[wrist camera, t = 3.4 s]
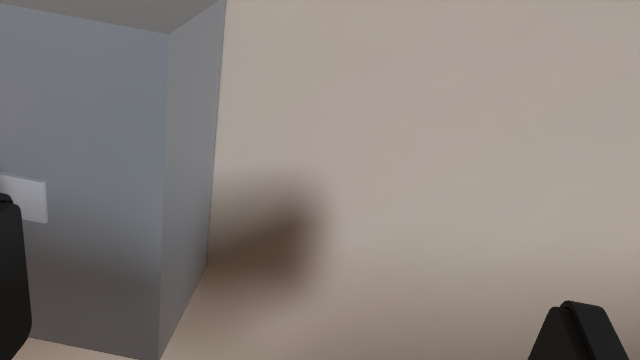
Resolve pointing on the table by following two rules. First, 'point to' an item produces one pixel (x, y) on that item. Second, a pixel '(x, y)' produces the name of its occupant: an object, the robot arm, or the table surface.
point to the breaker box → (110, 161)
